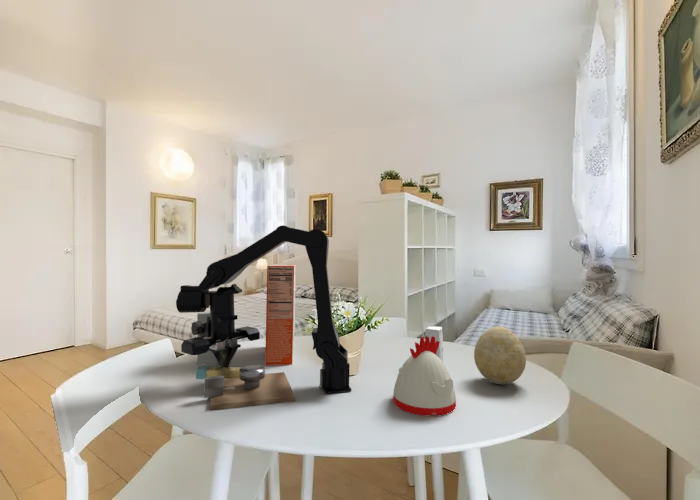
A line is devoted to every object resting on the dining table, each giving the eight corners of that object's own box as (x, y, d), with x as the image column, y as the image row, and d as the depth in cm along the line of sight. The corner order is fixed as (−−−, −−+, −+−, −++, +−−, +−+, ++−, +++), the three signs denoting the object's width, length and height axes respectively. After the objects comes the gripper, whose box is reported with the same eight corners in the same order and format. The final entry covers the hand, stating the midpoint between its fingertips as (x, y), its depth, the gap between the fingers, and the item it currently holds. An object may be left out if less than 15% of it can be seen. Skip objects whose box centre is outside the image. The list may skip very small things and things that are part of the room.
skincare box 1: (216, 368, 104) (217, 314, 104) (194, 366, 105) (195, 312, 106) (231, 360, 112) (232, 310, 113) (210, 359, 114) (212, 309, 114)
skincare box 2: (440, 372, 104) (440, 330, 104) (424, 370, 106) (425, 328, 106) (443, 366, 109) (443, 326, 110) (428, 364, 111) (429, 325, 112)
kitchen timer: (469, 408, 79) (469, 340, 79) (421, 421, 72) (421, 346, 73) (426, 388, 91) (427, 328, 91) (381, 397, 84) (382, 333, 85)
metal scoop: (267, 373, 90) (267, 364, 90) (261, 381, 84) (261, 372, 84) (203, 373, 90) (203, 364, 90) (193, 381, 84) (193, 371, 84)
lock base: (283, 374, 100) (283, 356, 100) (294, 400, 82) (295, 378, 82) (208, 380, 94) (208, 361, 94) (202, 411, 75) (203, 387, 76)
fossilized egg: (477, 372, 104) (477, 320, 104) (525, 379, 98) (526, 324, 99) (470, 386, 93) (471, 328, 93) (525, 395, 87) (526, 333, 87)
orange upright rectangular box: (271, 346, 131) (273, 264, 132) (294, 346, 132) (295, 264, 133) (265, 365, 108) (267, 265, 109) (292, 364, 109) (294, 266, 110)
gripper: (235, 304, 102) (237, 358, 102) (169, 314, 88) (170, 378, 88) (260, 307, 95) (261, 366, 96) (192, 319, 81) (194, 388, 81)
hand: (223, 373), depth 90 cm, fingers closed
